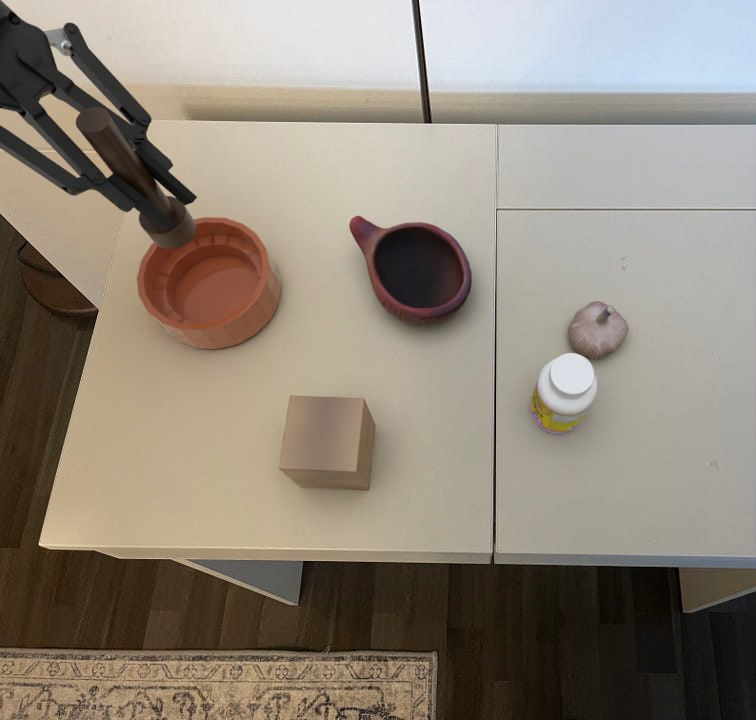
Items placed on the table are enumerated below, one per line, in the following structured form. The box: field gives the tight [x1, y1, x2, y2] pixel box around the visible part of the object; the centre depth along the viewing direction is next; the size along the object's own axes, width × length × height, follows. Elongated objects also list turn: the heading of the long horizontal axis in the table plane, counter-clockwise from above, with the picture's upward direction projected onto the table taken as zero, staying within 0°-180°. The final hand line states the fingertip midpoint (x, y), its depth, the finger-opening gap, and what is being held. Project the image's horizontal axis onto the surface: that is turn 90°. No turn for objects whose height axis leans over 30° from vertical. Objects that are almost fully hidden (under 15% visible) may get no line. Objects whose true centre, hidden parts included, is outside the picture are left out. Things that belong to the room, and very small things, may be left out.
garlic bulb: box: [567, 301, 629, 360], centre depth 81 cm, size 8×7×8 cm
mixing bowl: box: [136, 216, 282, 350], centre depth 83 cm, size 16×16×6 cm
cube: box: [278, 394, 376, 491], centre depth 74 cm, size 8×8×10 cm
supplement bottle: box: [530, 352, 598, 435], centre depth 75 cm, size 7×7×13 cm
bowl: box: [348, 215, 473, 326], centre depth 83 cm, size 16×13×8 cm
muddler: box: [75, 107, 196, 249], centre depth 64 cm, size 5×5×17 cm
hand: (179, 213), depth 65 cm, fingers closed on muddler, 3 cm apart
